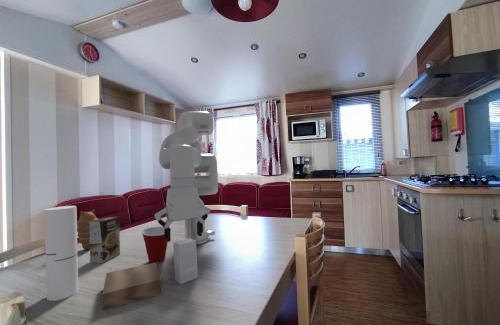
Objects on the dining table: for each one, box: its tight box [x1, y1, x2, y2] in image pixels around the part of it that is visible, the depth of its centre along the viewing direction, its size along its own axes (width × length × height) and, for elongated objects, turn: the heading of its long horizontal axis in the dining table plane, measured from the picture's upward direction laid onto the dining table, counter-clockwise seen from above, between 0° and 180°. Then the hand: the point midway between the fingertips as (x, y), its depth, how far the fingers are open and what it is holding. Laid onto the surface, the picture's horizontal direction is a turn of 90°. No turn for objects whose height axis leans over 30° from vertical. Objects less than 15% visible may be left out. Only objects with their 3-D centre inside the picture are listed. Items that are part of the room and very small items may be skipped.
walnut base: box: [102, 263, 163, 310], centre depth 68 cm, size 14×14×4 cm
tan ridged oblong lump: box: [77, 209, 99, 250], centre depth 107 cm, size 9×8×18 cm
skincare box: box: [172, 238, 199, 285], centre depth 73 cm, size 6×4×12 cm
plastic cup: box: [141, 225, 172, 264], centre depth 90 cm, size 11×11×12 cm
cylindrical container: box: [44, 205, 79, 302], centre depth 68 cm, size 7×7×25 cm
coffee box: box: [89, 216, 121, 264], centre depth 95 cm, size 9×6×16 cm
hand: (184, 237), depth 73 cm, fingers open, 9 cm apart
